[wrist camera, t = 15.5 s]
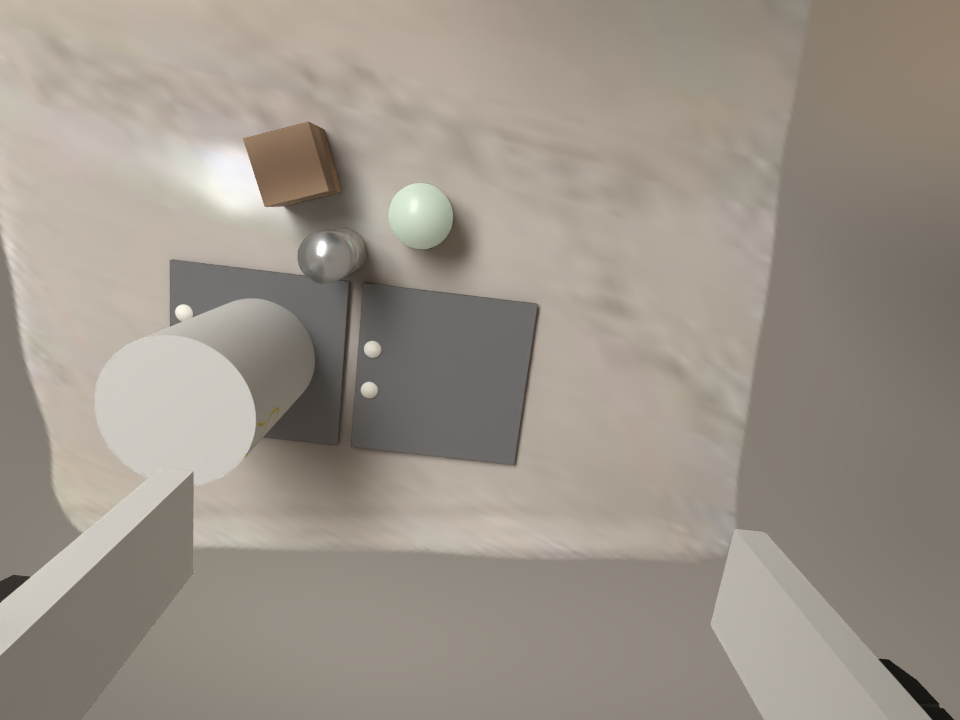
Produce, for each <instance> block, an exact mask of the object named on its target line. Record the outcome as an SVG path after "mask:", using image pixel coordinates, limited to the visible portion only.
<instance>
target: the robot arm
mask: <svg viewBox="0 0 960 720" xmlns="http://www.w3.org/2000/svg"><path fill="white" fill-rule="evenodd" d="M193 491H194V471H188V470H179V469H169V468H160V469H159V470H157V471H156V472H155V473H154V474H153V475H151V476H150V477H149V478H148V479H147V480H145V481H144V482H143V483H142V484H141V485H140V486H138V487H137V488H136V489H135V490H134V491H132V492H131V493H130V494H129V495H128V496H127V497H125V498H124V499H123V500H122V501H121V502H119V503H118V504H117V505H116V506H115V507H113V508H112V509H111V510H110V511H109V512H108V513H106V514H105V515H104V516H103V517H102V518H100V519H99V520H98V521H97V522H96V523H94V524H93V525H92V526H91V527H90V528H89V529H87V530H86V531H85V532H84V533H83V534H81V535H80V536H79V537H78V538H77V539H75V540H74V541H73V542H72V543H71V544H70V545H68V546H67V547H66V548H65V549H64V550H62V551H61V552H60V553H59V554H58V555H56V556H55V557H54V558H53V559H52V560H51V561H49V562H48V563H47V564H46V565H45V566H43V567H42V568H41V569H40V570H39V571H37V572H36V573H35V574H34V575H33V576H32V577H28V576H19V575H12V576H10V577H8V578H6V579H4V580H2V581H0V720H82V718H83V717H84V716H85V714H86V713H87V712H88V711H89V709H90V708H91V707H92V705H93V704H94V703H95V701H96V700H97V699H98V697H99V696H100V695H101V693H102V692H103V691H104V689H105V688H106V687H107V685H108V684H109V683H110V681H111V680H112V679H113V678H114V676H115V675H116V674H117V672H118V671H119V670H120V668H121V667H122V666H123V664H124V663H125V662H126V661H127V659H128V658H129V657H130V655H131V654H132V653H133V651H134V650H135V649H136V647H137V646H138V645H139V643H140V642H141V641H142V639H143V638H144V637H145V636H146V634H147V633H148V631H149V630H150V629H151V628H152V626H153V625H154V624H155V622H156V621H157V619H158V618H159V617H160V616H161V614H162V613H163V612H164V610H165V609H166V608H167V607H168V605H169V604H170V603H171V601H172V600H173V599H174V597H175V596H176V595H177V593H178V592H179V591H180V589H181V588H182V587H183V585H184V584H185V583H186V582H187V580H188V579H189V578H190V576H191V575H192V574H193ZM711 627H712V629H713V630H714V632H715V634H716V636H717V637H718V639H719V641H720V643H721V645H722V646H723V648H724V650H725V652H726V653H727V655H728V657H729V659H730V660H731V662H732V664H733V666H734V667H735V669H736V671H737V673H738V675H739V676H740V678H741V680H742V682H743V683H744V685H745V687H746V688H747V690H748V692H749V694H750V696H751V698H752V699H753V701H754V703H755V705H756V706H757V708H758V710H759V712H760V713H761V715H762V717H763V719H764V720H954V719H953V718H952V717H951V716H950V715H949V714H948V713H947V712H946V711H945V710H944V709H943V708H940V707H939V703H938V702H937V701H936V700H935V699H934V698H933V697H932V696H931V695H930V694H929V693H928V691H927V690H926V689H925V688H924V687H923V686H922V685H921V684H920V683H919V682H918V681H917V680H916V679H915V678H913V677H912V676H910V675H909V674H908V673H906V672H905V671H904V670H902V669H901V668H899V667H898V666H897V665H895V664H894V663H892V662H891V661H890V660H887V659H878V658H877V657H876V656H875V655H874V654H873V653H872V652H871V651H870V649H869V648H868V647H867V646H866V645H865V644H864V643H863V642H862V640H861V639H860V638H859V637H858V636H857V635H856V634H855V633H854V632H853V630H852V629H851V628H850V627H849V626H848V625H847V624H846V623H845V621H844V620H843V619H842V618H841V617H840V616H839V615H838V614H837V613H836V611H835V610H834V609H833V608H832V607H831V606H830V605H829V603H828V602H827V601H826V600H825V599H824V598H823V597H822V596H821V595H820V593H819V592H818V591H817V590H816V589H815V588H814V587H813V586H812V584H810V582H809V581H808V580H807V579H806V578H805V577H804V575H802V573H801V572H800V571H799V570H798V569H797V568H796V566H794V564H793V563H792V562H791V561H790V560H789V559H788V557H787V556H786V555H785V554H784V553H783V552H782V551H781V550H780V548H779V547H778V546H777V545H776V544H775V543H774V542H773V541H772V540H771V538H770V537H769V536H768V535H767V534H766V533H765V532H757V531H749V530H740V529H734V533H733V537H732V541H731V545H730V549H729V553H728V557H727V561H726V566H725V570H724V573H723V577H722V581H721V585H720V590H719V593H718V597H717V601H716V605H715V609H714V613H713V617H712V621H711Z"/></svg>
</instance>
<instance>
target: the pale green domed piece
mask: <svg viewBox="0 0 960 720" xmlns="http://www.w3.org/2000/svg"><path fill="white" fill-rule="evenodd" d="M452 223H453V211H452V207H451V204H450V202H449V200H448V198H447V197H446V196H445V194H444V193H443V192H442V191H440V190H439V189H438V188H436V187H434V186H432V185H429V184H424V183H416V184H411V185H408V186H406V187H404V188H403V189H401V190H400V191H399V192H398V193H397V194H396V195H395V197H394V198H393V200H392V202H391V204H390V208H389V224H390V227H391V229H392V231H393V233H394V235H395V236H396V237H397V239H398V240H400V241H401V242H402V243H403V244H405V245H407V246H409V247H411V248H415V249H429V248H432V247H434V246H436V245H438V244H440V243H441V242H442V241H443V240H444V239H445V238H446V237H447V235H448V234H449V232H450V230H451V227H452Z"/></svg>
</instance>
